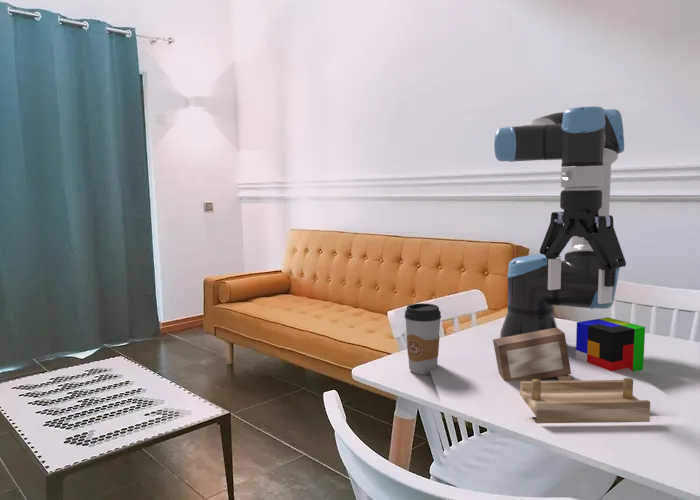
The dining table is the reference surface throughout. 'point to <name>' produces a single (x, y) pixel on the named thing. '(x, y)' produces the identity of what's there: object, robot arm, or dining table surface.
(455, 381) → the dining table surface
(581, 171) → the robot arm
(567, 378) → the block
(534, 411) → the ledge
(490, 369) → the dining table surface
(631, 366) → the puzzle toy
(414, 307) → the coffee cup
